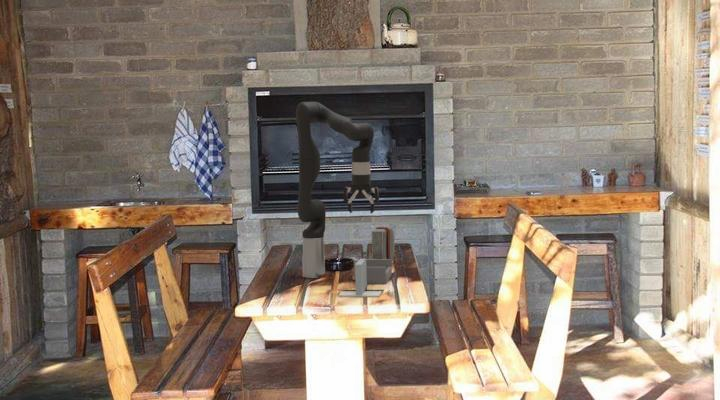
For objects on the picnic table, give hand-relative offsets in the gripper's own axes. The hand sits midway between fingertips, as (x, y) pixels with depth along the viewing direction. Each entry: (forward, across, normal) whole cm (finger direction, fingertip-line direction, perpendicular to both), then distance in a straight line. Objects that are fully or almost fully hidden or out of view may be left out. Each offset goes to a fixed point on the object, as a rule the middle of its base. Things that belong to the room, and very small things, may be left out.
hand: (361, 212), depth 364 cm
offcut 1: (+27, -1, +7) cm, 28 cm away
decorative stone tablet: (+31, +4, +36) cm, 48 cm away
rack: (+30, +4, +7) cm, 31 cm away
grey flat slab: (+29, +2, -14) cm, 33 cm away
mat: (+30, +2, -14) cm, 33 cm away
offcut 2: (+29, 0, +7) cm, 30 cm away
